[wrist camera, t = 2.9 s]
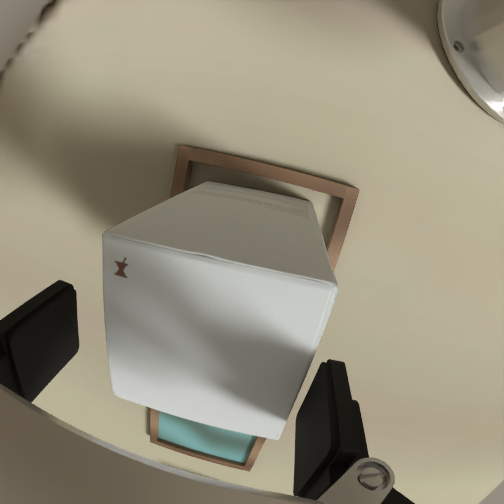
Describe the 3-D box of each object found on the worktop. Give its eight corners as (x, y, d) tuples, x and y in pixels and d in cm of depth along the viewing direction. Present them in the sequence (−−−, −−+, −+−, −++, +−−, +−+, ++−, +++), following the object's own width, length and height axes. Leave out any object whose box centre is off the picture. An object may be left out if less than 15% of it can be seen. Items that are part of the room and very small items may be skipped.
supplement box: (191, 278, 23) (105, 395, 11) (206, 177, 21) (95, 225, 9) (291, 302, 23) (279, 446, 11) (317, 201, 20) (343, 283, 8)
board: (183, 145, 20) (179, 145, 19) (357, 188, 20) (359, 189, 19) (152, 437, 31) (150, 442, 30) (250, 466, 30) (249, 471, 29)
